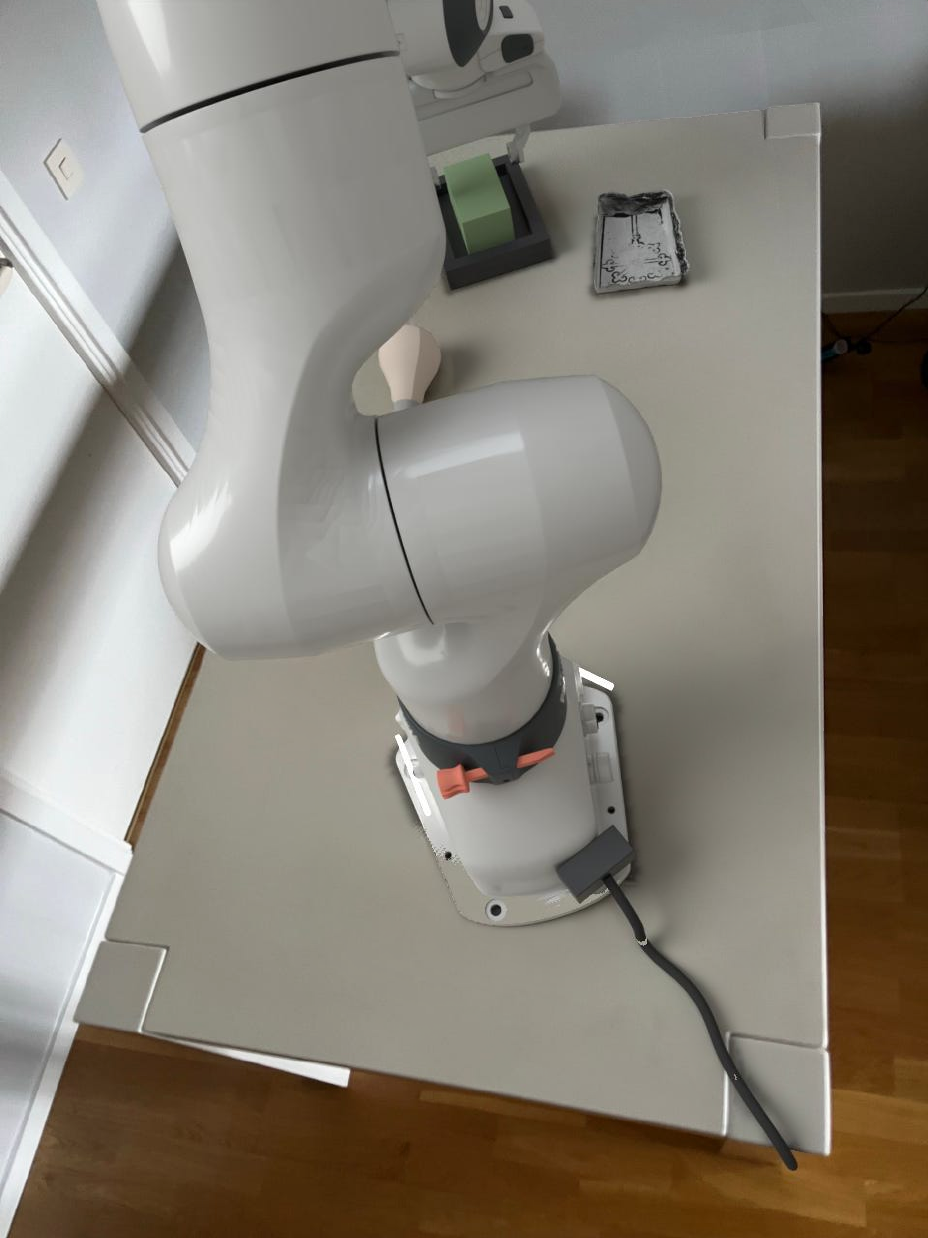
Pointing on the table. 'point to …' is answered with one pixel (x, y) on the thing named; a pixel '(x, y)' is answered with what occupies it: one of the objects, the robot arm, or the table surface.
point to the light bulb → (409, 364)
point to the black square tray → (501, 258)
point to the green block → (479, 203)
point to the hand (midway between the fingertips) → (475, 174)
